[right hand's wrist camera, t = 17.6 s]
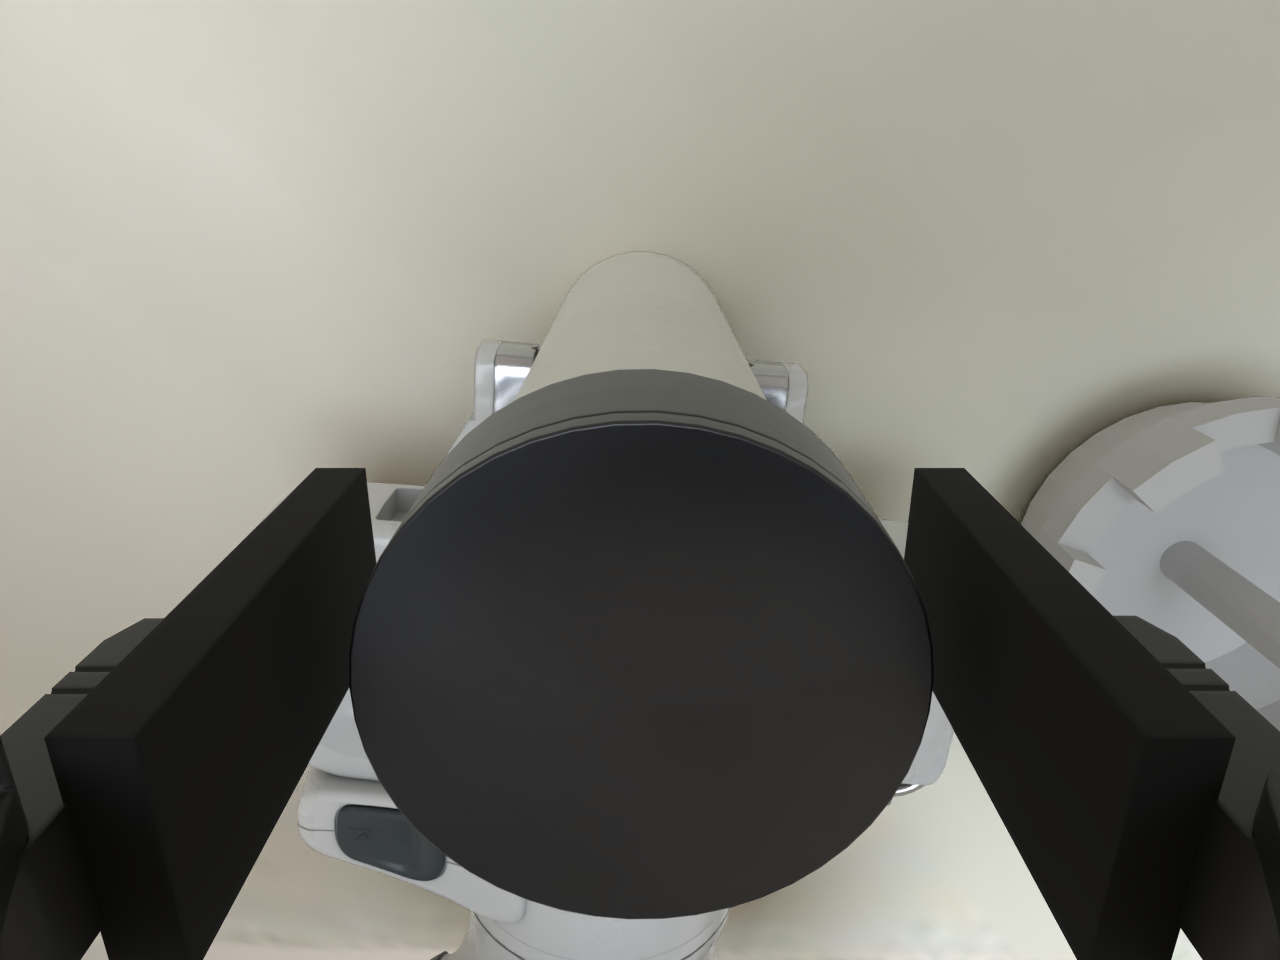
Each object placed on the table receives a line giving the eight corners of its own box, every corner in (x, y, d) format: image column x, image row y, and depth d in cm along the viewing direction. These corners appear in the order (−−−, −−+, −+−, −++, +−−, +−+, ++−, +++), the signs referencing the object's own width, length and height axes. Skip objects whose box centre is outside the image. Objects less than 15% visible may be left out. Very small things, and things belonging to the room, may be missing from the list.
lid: (381, 762, 13) (330, 882, 11) (422, 324, 11) (368, 367, 9) (814, 825, 14) (847, 952, 11) (945, 417, 11) (1016, 481, 9)
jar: (544, 263, 28) (361, 483, 10) (715, 240, 28) (861, 421, 10) (571, 426, 30) (462, 867, 12) (731, 406, 30) (878, 824, 11)
